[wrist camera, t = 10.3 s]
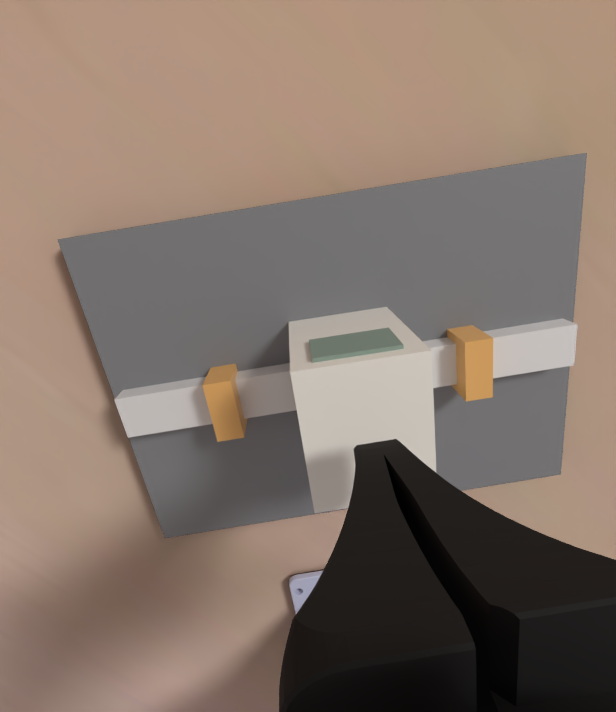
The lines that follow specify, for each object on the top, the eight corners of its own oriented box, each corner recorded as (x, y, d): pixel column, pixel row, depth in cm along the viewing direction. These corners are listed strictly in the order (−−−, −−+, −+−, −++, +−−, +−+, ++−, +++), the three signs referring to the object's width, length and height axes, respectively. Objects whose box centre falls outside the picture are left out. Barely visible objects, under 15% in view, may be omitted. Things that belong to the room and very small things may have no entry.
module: (395, 414, 20) (437, 494, 15) (306, 428, 20) (314, 513, 15) (386, 303, 18) (431, 346, 13) (288, 318, 18) (289, 367, 13)
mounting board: (549, 463, 23) (586, 499, 20) (169, 524, 23) (153, 568, 20) (570, 155, 17) (625, 145, 15) (69, 237, 17) (28, 243, 15)
